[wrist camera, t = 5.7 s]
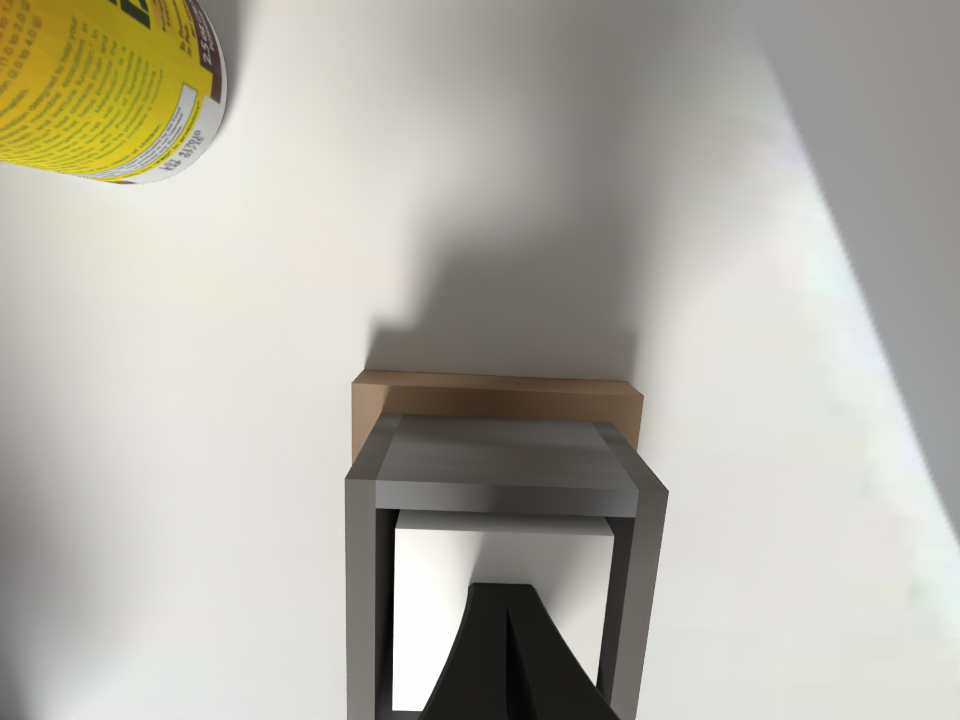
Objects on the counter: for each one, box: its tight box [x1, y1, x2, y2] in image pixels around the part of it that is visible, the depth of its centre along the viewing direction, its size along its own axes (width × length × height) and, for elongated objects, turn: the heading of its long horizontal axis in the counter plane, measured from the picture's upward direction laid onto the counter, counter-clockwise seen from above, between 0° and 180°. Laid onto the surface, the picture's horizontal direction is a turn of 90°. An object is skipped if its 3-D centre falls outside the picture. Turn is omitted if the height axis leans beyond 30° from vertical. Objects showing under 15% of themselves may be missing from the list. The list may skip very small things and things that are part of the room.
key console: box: [345, 370, 669, 720], centre depth 14 cm, size 8×19×6 cm, turn 177°
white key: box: [393, 509, 614, 711], centre depth 12 cm, size 4×4×2 cm
